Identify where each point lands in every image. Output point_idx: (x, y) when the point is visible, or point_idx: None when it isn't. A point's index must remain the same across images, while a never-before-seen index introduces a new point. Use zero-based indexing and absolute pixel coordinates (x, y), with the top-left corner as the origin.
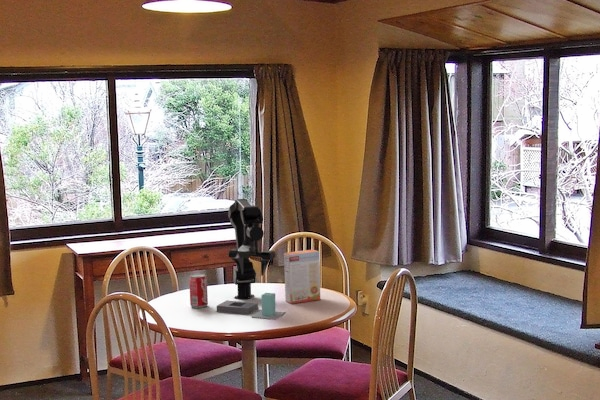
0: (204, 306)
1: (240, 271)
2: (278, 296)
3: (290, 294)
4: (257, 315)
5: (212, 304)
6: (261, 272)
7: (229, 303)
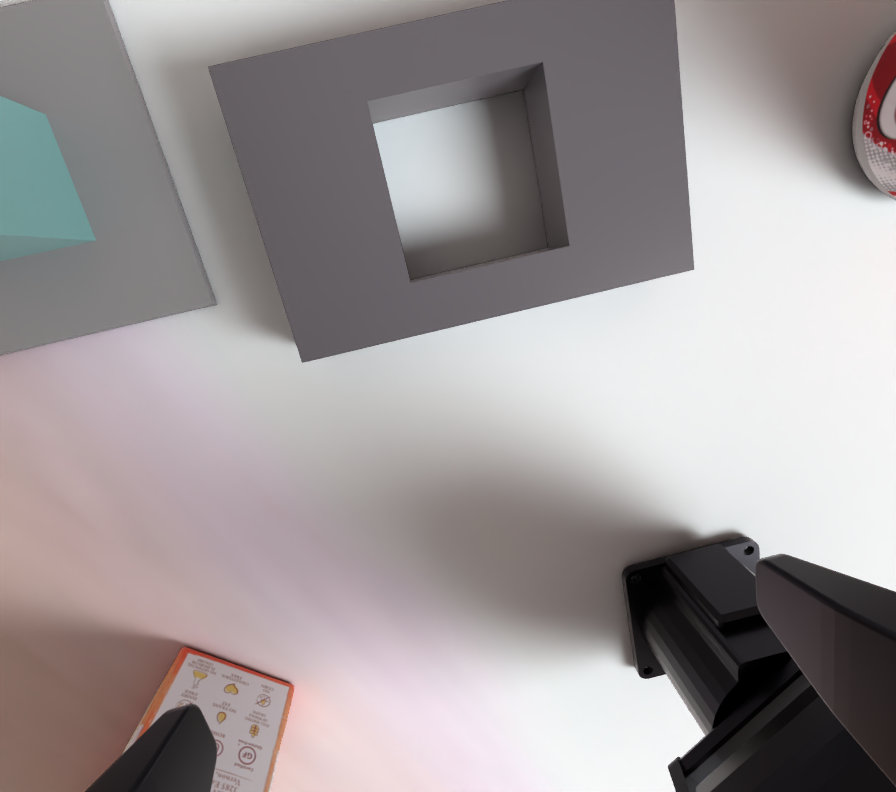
0: (859, 97)
1: (851, 590)
2: (454, 757)
3: (143, 724)
4: (79, 73)
5: (830, 256)
6: (124, 789)
7: (584, 160)
